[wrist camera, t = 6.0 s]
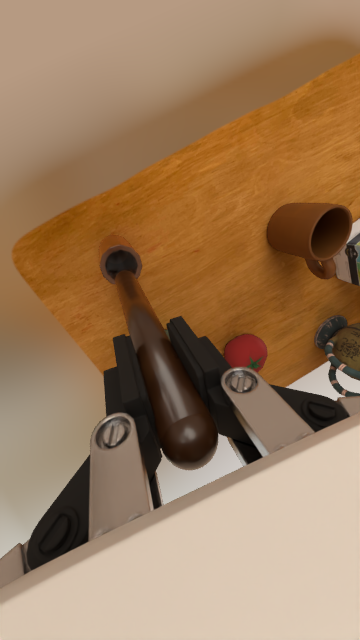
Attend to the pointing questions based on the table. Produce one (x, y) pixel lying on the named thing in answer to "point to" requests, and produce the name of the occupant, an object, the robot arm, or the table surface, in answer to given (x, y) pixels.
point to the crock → (118, 257)
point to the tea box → (350, 257)
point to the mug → (311, 233)
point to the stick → (167, 383)
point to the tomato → (246, 352)
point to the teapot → (340, 349)
